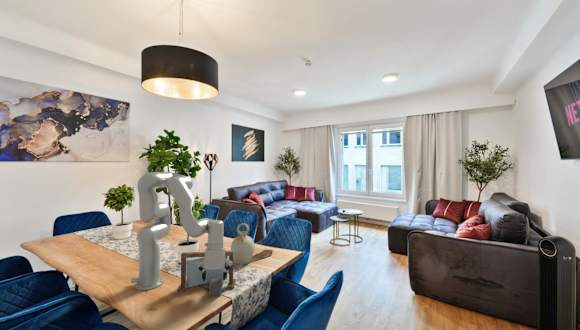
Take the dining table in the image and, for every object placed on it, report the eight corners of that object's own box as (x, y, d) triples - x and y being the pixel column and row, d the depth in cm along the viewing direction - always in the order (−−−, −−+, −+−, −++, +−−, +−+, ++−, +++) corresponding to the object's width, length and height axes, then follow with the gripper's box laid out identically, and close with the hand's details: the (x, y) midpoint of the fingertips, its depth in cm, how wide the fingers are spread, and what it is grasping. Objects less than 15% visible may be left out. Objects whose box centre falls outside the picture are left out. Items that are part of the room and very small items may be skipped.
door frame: (176, 292, 114) (176, 256, 114) (182, 284, 122) (182, 250, 122) (234, 288, 118) (234, 253, 118) (235, 281, 126) (235, 248, 126)
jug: (236, 255, 162) (237, 220, 162) (257, 257, 159) (257, 221, 159) (226, 264, 147) (226, 225, 147) (249, 266, 144) (249, 226, 144)
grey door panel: (186, 288, 118) (186, 260, 118) (186, 287, 119) (186, 260, 119) (227, 277, 129) (227, 252, 129) (226, 276, 130) (226, 252, 130)
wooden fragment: (267, 248, 176) (267, 247, 176) (278, 251, 170) (278, 250, 170) (243, 260, 154) (243, 259, 154) (256, 264, 148) (256, 263, 148)
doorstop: (209, 297, 111) (209, 284, 111) (214, 281, 125) (214, 270, 125) (219, 296, 111) (219, 283, 111) (223, 280, 126) (223, 269, 126)
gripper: (195, 248, 110) (194, 283, 110) (232, 247, 113) (231, 282, 113) (199, 243, 118) (198, 276, 118) (233, 242, 120) (232, 275, 120)
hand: (214, 279), depth 115 cm, fingers open, 9 cm apart
